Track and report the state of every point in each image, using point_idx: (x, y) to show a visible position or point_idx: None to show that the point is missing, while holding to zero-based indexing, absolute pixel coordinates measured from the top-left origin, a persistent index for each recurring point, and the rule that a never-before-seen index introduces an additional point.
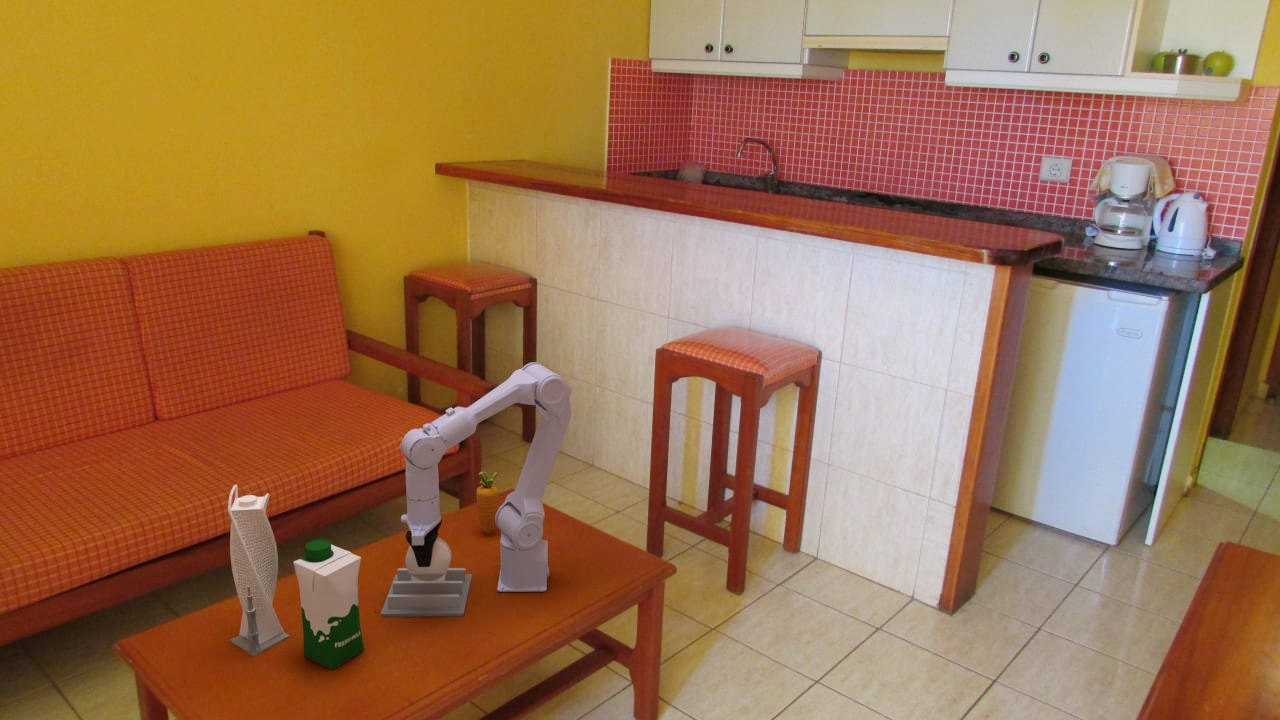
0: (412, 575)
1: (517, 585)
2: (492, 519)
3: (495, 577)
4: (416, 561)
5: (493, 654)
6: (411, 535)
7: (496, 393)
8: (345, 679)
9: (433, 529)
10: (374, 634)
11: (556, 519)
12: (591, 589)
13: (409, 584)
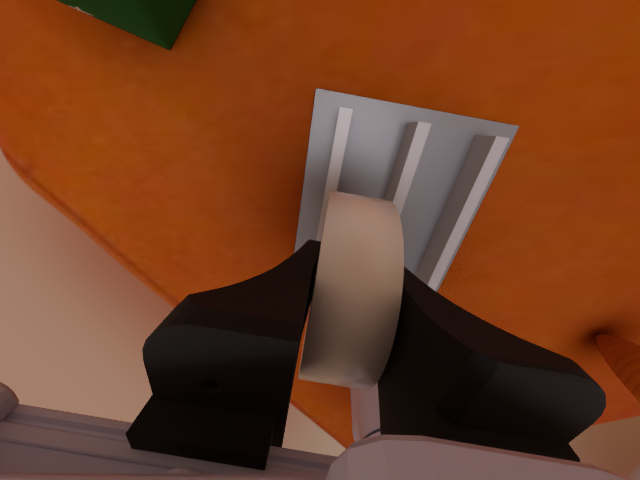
0: (327, 202)
1: None
2: (621, 381)
3: None
4: (304, 244)
5: (181, 298)
6: (178, 372)
7: None
8: (46, 4)
9: (390, 429)
10: (238, 76)
11: None
12: (336, 415)
13: (400, 173)
